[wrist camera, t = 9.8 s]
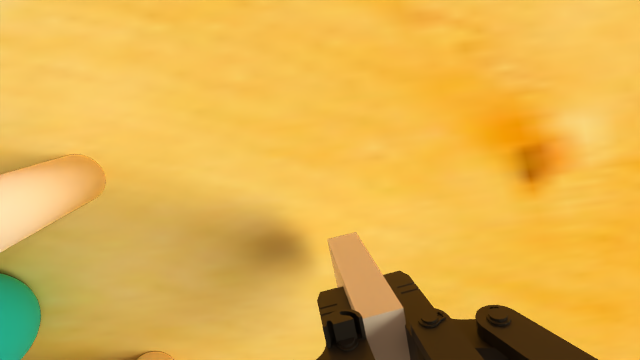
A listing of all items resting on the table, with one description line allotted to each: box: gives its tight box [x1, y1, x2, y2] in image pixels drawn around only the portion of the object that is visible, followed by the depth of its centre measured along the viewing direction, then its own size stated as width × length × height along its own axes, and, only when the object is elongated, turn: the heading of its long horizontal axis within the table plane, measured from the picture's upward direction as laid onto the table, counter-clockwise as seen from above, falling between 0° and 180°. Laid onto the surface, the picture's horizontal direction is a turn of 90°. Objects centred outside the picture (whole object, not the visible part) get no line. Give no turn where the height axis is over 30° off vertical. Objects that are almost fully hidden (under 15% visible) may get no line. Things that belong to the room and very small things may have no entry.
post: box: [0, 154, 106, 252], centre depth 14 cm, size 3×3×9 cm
